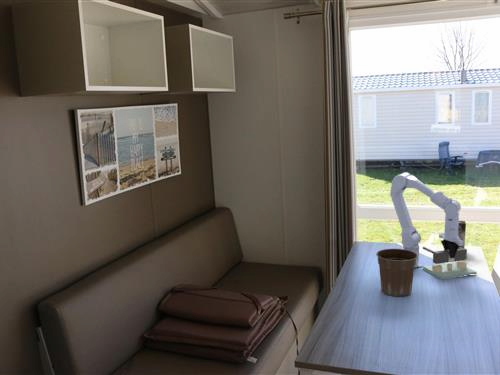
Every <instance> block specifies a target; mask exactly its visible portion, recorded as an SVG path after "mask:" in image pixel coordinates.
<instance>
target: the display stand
mask: <svg viewBox="0 0 500 375" xmlns="http://www.w3.org/2000/svg"><path fill="white" fill-rule="evenodd" d="M467 265H468V263H467V262H466V261H465V260H462V261H455V262H447V263H440V264H435V263H434V264H431V265H424V266H423V265H422V270H423V271H425V272H427V273H429V274H430V275H433V276H434V277H436V278H438V279H440V280H441V279H442V280H441V281H443V279H444V280H449V278H451V279H456V278H455V277H458V278H461V277H460V276H464V275H470V274H476V275H477V273H478V271H476V270H474V269H472V268H471V267H470V268H469V267H468V266H467Z"/></svg>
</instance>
